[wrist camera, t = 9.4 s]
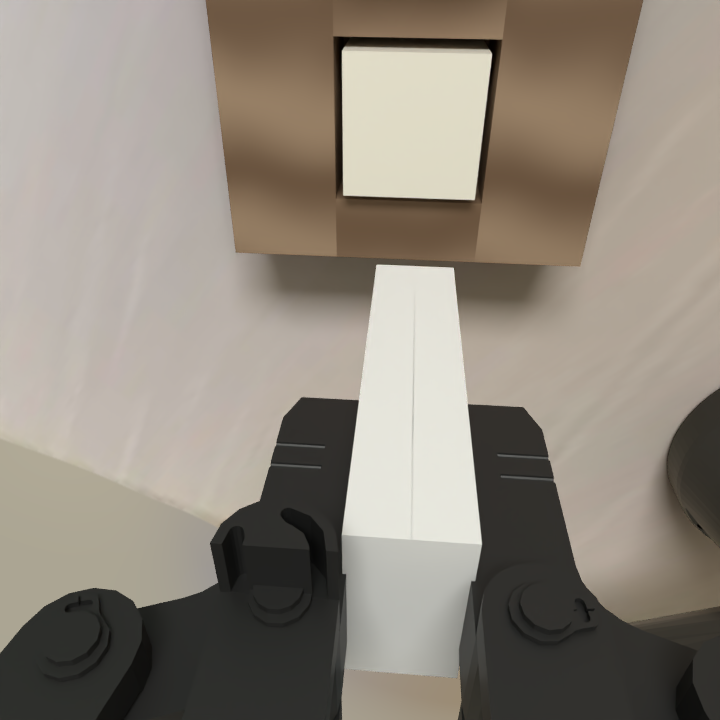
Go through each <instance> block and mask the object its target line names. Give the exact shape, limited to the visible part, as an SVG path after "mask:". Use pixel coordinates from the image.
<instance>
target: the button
mask: <svg viewBox="0 0 720 720" xmlns="http://www.w3.org/2000/svg"><path fill="white" fill-rule="evenodd" d="M491 60H492V53H491V51H490V50H489V48H488V46H487V45H486V43H485V41H484V39H449V38H398V37H350V39H349V41H348V42H347V44H346V45H345V47H344V48H343V50H342V115H343V196H370V197H398V198H427V199H456V200H475V194H476V185H477V177H478V169H479V160H480V152H481V143H482V135H483V127H484V118H485V110H486V102H487V93H488V85H489V76H490V68H491Z"/></svg>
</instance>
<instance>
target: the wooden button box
mask: <svg viewBox="0 0 720 720" xmlns="http://www.w3.org/2000/svg"><path fill="white" fill-rule="evenodd" d="M642 3H643V0H206V6H207V15H208V23H209V31H210V40H211V48H212V57H213V65H214V73H215V82H216V90H217V98H218V107H219V115H220V124H221V132H222V140H223V149H224V157H225V165H226V174H227V182H228V191H229V199H230V207H231V216H232V224H233V232H234V241H235V249H236V252H238V253H262V254H287V255H311V256H335V257H360V258H384V259H409V260H433V261H458V262H482V263H507V264H531V265H555V266H580V265H581V260H582V256H583V252H584V248H585V244H586V239H587V235H588V231H589V227H590V222H591V218H592V214H593V210H594V206H595V201H596V197H597V193H598V189H599V184H600V180H601V176H602V172H603V168H604V163H605V159H606V155H607V151H608V147H609V142H610V138H611V134H612V130H613V125H614V121H615V117H616V113H617V109H618V104H619V100H620V96H621V92H622V87H623V83H624V79H625V75H626V71H627V66H628V62H629V58H630V54H631V49H632V45H633V41H634V37H635V33H636V28H637V24H638V20H639V16H640V12H641V7H642ZM350 37H398V38H449V39H484V41H485V43H486V45H487V46H488V48H489V50H490V51H491V53H492V60H491V68H490V76H489V85H488V93H487V102H486V110H485V118H484V127H483V135H482V143H481V152H480V160H479V169H478V177H477V185H476V194H475V200H456V199H427V198H398V197H370V196H343V115H342V50H343V48H344V47H345V45H346V44H347V42H348V41H349V39H350Z"/></svg>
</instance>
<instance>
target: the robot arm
mask: <svg viewBox="0 0 720 720" xmlns="http://www.w3.org/2000/svg"><path fill="white" fill-rule="evenodd" d="M667 468H668V476H669V480H670V483H671V485H672V487H673V490H674V492H675V494H676V496H677V498H678V500H679V503H680V505H681V507H682V509H683V511H684V512H685V514H686V515H687V517H688V518H689V519H690V521H691V522H692V523H693V524H694V525H695V526H696V527H697V528H698V529H699V530H701V531H702V532H703V533H704V534H705V535H706V536H707V537H709V538H710V539H712V540H713V541H714V542H715V543H716V544H717V545H718V547H719V548H720V389H719V390H717V391H716V392H714V393H713V394H712V395H710V396H709V397H708V398H707V399H705V400H704V401H703V402H702V403H701V404H700V405H699V406H698V407H697V408H696V409H695V410H694V411H693V412H692V413H691V414H690V415H689V416H688V417H687V419H686V420H685V421H684V422H683V424H682V425H681V427H680V428H679V430H678V432H677V433H676V435H675V437H674V439H673V442H672V444H671V447H670V451H669V455H668V465H667ZM553 479H554V476H553V472H552V468H551V464H550V461H548V452H547V448H546V444H545V440H544V436H543V432H542V429H541V428H540V427H539V426H538V424H537V423H536V422H535V421H534V420H533V418H532V417H531V416H530V415H529V414H528V412H527V411H526V410H525V409H524V408H523V407H508V406H489V405H471V404H468V403H467V393H466V383H465V374H464V364H463V354H462V344H461V335H460V325H459V315H458V305H457V296H456V286H455V276H454V268H449V267H424V266H400V265H376V273H375V281H374V288H373V296H372V304H371V312H370V319H369V327H368V335H367V343H366V350H365V358H364V366H363V374H362V381H361V389H360V397H359V400H342V399H323V398H305V397H302V398H301V399H300V400H299V401H298V402H297V403H296V404H295V405H294V406H293V407H292V409H291V410H290V411H289V412H288V413H287V414H286V415H285V416H284V417H283V420H282V424H281V428H280V431H279V435H278V438H277V444H276V447H275V449H274V452H273V456H272V460H271V467H269V470H268V474H267V477H266V481H265V485H264V488H263V492H262V495H261V499H260V501H259V502H256V503H254V504H251V505H249V506H246V507H244V508H241V509H239V510H238V511H237V512H235V513H234V514H233V515H232V516H230V517H229V518H228V519H227V520H225V521H224V522H223V523H222V524H221V525H220V527H219V529H218V530H217V532H216V534H215V536H214V537H213V539H212V541H211V542H210V545H211V550H212V555H213V559H214V564H215V569H216V574H217V579H218V583H217V584H215V585H213V586H212V587H210V588H208V589H206V590H204V591H203V592H200V593H197V594H194V595H191V596H188V597H185V598H181V599H177V600H172V601H168V602H163V603H159V604H155V605H150V606H146V607H142V608H136V606H135V604H134V602H133V601H132V600H131V599H129V598H127V597H126V596H124V595H122V594H121V593H119V592H118V591H116V590H107V589H97V588H92V589H87V590H83V591H78V592H73V593H69V594H67V595H65V596H63V597H61V598H60V599H58V600H56V601H54V602H52V603H50V604H48V605H46V606H44V607H43V608H42V609H41V610H40V611H39V612H38V613H37V614H36V615H35V616H34V617H33V618H31V619H30V620H29V621H28V622H27V623H26V624H25V625H24V626H23V627H22V628H21V629H20V630H19V632H18V633H17V634H16V635H15V636H14V638H13V639H12V640H11V641H10V642H9V644H8V645H7V646H6V647H5V648H4V650H3V651H2V652H1V653H0V720H342V704H341V696H342V687H343V676H344V669H351V670H364V671H375V672H387V673H400V674H413V675H424V676H436V677H448V678H457V676H458V670H459V665H460V680H461V698H462V702H461V707H460V712H459V717H458V720H720V606H719V607H714V608H708V609H703V610H697V611H692V612H686V613H681V614H676V615H670V616H665V617H659V618H654V619H648V620H643V621H637V622H632V623H626V622H624V621H622V620H621V619H619V618H618V617H616V616H615V615H613V614H612V613H611V612H609V611H608V610H606V609H605V608H604V607H603V606H602V605H601V604H600V603H599V602H598V600H597V598H596V597H595V596H594V595H593V594H592V593H591V592H590V591H589V590H588V589H587V588H586V586H585V585H584V583H583V582H582V580H581V578H580V576H579V573H578V570H577V568H576V565H575V561H574V557H573V553H572V549H571V545H570V541H569V537H568V533H567V529H566V525H565V521H564V517H563V513H562V509H561V505H560V500H559V496H558V492H557V488H556V484H555V483H554V481H553Z"/></svg>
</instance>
